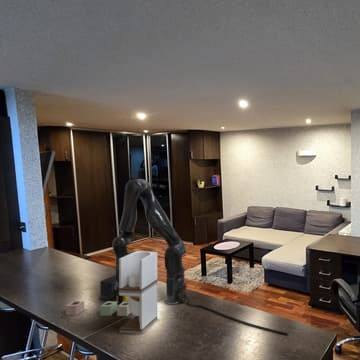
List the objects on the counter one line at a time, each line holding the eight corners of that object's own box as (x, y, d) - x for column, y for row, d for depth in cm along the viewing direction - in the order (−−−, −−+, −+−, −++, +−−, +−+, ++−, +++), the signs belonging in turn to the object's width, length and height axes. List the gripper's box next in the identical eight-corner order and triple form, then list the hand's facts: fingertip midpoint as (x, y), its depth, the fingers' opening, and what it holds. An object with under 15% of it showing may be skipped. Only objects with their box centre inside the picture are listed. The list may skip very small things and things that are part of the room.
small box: (108, 300, 154) (108, 282, 154) (99, 298, 156) (99, 281, 155) (125, 292, 165) (125, 275, 164) (116, 290, 166) (116, 274, 166)
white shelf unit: (136, 318, 137) (136, 251, 136) (157, 319, 137) (157, 251, 135) (119, 332, 126) (119, 258, 124) (141, 333, 126) (141, 259, 124)
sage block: (117, 310, 144) (117, 301, 144) (110, 315, 139) (110, 306, 139) (107, 310, 144) (107, 301, 144) (100, 315, 139) (100, 306, 139)
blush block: (84, 310, 144) (84, 300, 143) (76, 315, 139) (76, 305, 138) (74, 310, 144) (74, 300, 143) (66, 315, 139) (66, 305, 138)
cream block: (133, 310, 145) (133, 301, 144) (127, 316, 140) (126, 306, 139) (123, 310, 144) (123, 301, 144) (117, 315, 139) (117, 306, 139)
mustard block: (131, 297, 156) (131, 289, 156) (125, 302, 151) (125, 293, 151) (122, 297, 156) (122, 289, 156) (116, 302, 151) (116, 293, 151)
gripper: (121, 275, 146) (122, 305, 147) (138, 265, 160) (138, 293, 161) (107, 275, 145) (107, 305, 146) (125, 265, 160) (126, 293, 161)
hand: (124, 299), depth 154 cm, fingers closed on mustard block, 5 cm apart
